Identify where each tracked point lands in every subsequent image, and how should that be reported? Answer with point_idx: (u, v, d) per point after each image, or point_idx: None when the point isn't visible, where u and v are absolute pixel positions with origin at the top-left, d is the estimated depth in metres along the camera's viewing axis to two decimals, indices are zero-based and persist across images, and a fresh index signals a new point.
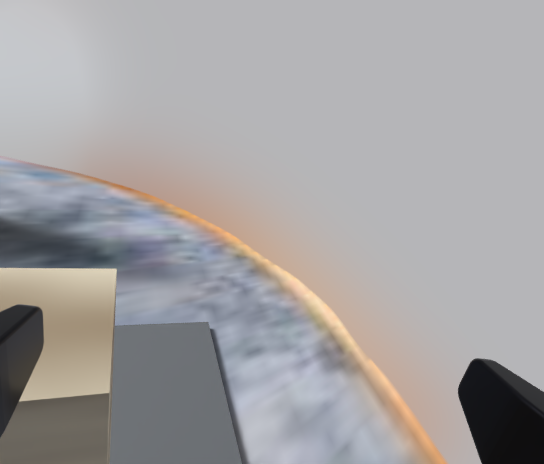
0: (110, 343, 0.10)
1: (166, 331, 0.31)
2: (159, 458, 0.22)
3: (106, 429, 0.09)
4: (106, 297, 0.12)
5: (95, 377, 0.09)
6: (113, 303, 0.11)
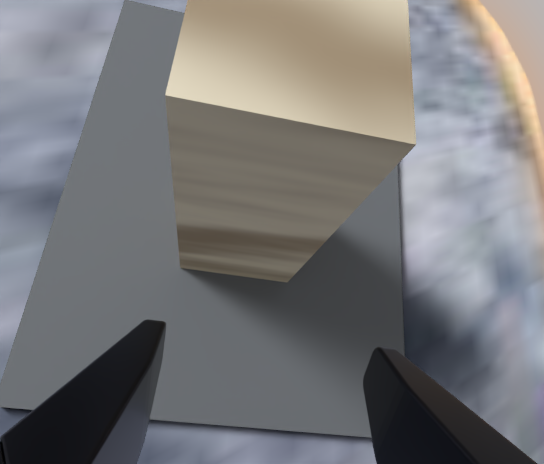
0: (411, 93, 0.10)
1: None
2: None
3: (391, 169, 0.11)
4: (402, 38, 0.11)
5: (403, 126, 0.10)
6: (409, 46, 0.11)
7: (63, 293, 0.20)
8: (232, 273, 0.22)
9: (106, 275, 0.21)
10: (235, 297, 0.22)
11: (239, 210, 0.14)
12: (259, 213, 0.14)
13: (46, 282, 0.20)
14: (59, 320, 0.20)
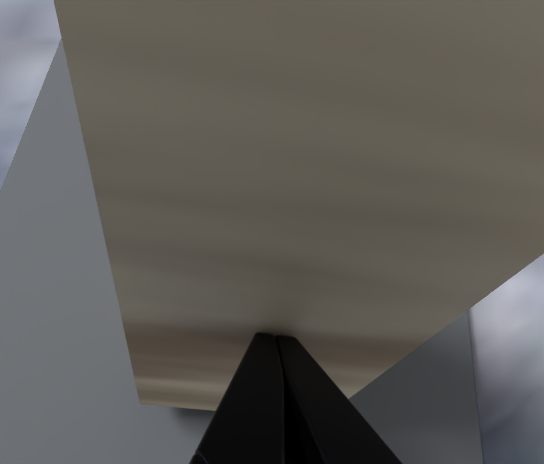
0: None
1: None
2: None
3: None
4: None
5: None
6: None
7: None
8: None
9: (22, 429, 0.13)
10: None
11: (258, 280, 0.06)
12: (301, 284, 0.06)
13: None
14: None
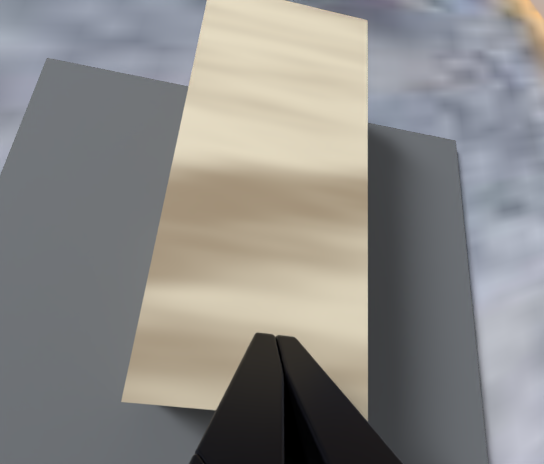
0: None
1: (395, 143, 0.20)
2: (376, 354, 0.16)
3: (366, 43, 0.15)
4: None
5: None
6: None
7: None
8: None
9: None
10: None
11: (258, 116, 0.13)
12: (279, 120, 0.13)
13: None
14: None
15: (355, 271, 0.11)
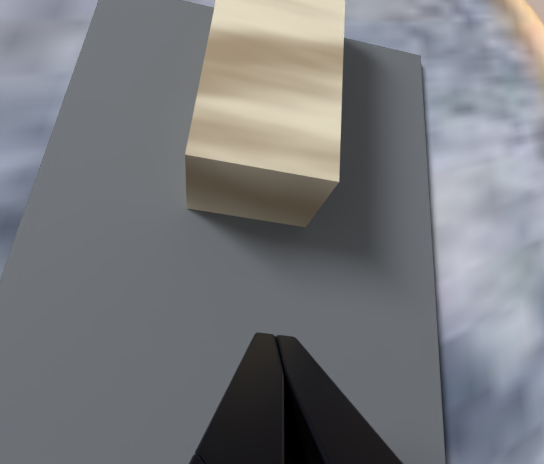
0: None
1: (372, 55, 0.25)
2: (353, 195, 0.21)
3: None
4: None
5: None
6: None
7: (18, 349, 0.16)
8: (261, 159, 0.15)
9: (74, 324, 0.17)
10: (235, 350, 0.17)
11: (267, 3, 0.18)
12: (282, 6, 0.18)
13: None
14: (12, 385, 0.15)
15: (333, 99, 0.17)
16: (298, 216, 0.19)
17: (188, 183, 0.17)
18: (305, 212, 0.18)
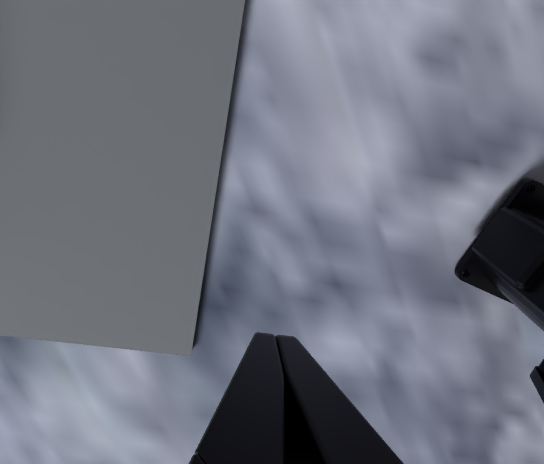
0: None
1: None
2: None
3: None
4: None
5: None
6: None
7: (97, 324, 0.22)
8: None
9: (75, 294, 0.21)
10: (83, 173, 0.19)
11: None
12: None
13: (89, 336, 0.23)
14: (122, 324, 0.22)
15: None
16: None
17: None
18: None
